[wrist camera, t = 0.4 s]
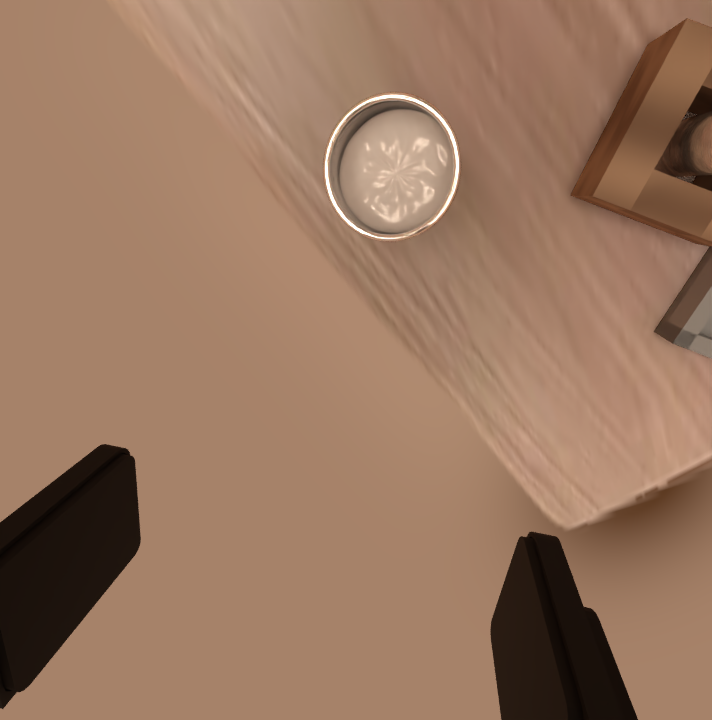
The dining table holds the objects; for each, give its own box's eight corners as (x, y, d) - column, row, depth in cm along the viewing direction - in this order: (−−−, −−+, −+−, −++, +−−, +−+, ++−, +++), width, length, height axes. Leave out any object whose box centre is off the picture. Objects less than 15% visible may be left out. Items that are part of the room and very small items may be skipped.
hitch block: (647, 44, 30) (687, 18, 25) (789, 98, 30) (855, 81, 25) (570, 195, 34) (592, 196, 29) (696, 243, 34) (738, 252, 29)
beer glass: (467, 196, 35) (490, 200, 21) (387, 240, 37) (361, 270, 23) (427, 109, 33) (423, 51, 19) (346, 160, 35) (291, 141, 22)
